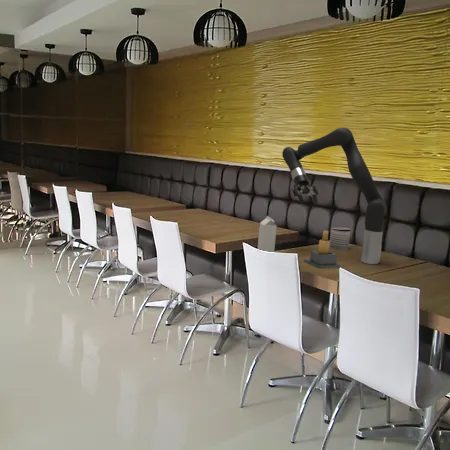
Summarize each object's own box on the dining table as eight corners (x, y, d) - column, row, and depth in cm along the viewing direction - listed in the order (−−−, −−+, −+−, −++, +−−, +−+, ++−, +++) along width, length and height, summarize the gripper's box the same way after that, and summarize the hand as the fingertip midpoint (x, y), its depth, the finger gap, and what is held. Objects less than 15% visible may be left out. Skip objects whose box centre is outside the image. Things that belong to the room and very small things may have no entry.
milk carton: (261, 252, 280) (265, 217, 277) (257, 249, 287) (260, 215, 283) (274, 253, 282) (277, 218, 279) (269, 249, 289) (272, 215, 285)
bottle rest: (304, 261, 269) (305, 249, 268) (325, 260, 275) (326, 248, 274) (318, 268, 258) (320, 256, 256) (340, 267, 263) (341, 255, 262)
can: (334, 249, 302) (336, 229, 300) (325, 245, 313) (327, 225, 311) (352, 250, 305) (354, 230, 303) (342, 245, 316) (345, 226, 314)
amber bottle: (321, 260, 270) (325, 229, 267) (329, 262, 266) (333, 231, 263) (315, 261, 266) (318, 230, 263) (322, 263, 263) (326, 232, 260)
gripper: (291, 173, 281) (301, 197, 273) (314, 174, 287) (323, 198, 279) (285, 181, 287) (294, 206, 279) (307, 182, 293) (317, 206, 285)
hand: (309, 202), depth 279 cm, fingers open, 8 cm apart
